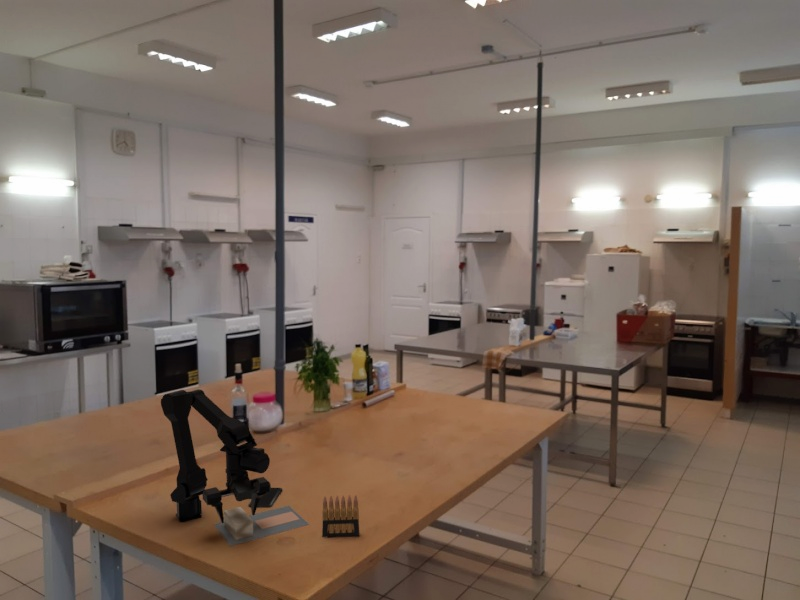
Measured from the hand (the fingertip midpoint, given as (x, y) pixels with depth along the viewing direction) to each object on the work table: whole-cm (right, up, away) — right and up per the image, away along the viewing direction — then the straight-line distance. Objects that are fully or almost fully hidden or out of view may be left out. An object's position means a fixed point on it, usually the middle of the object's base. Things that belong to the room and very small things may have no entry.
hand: (238, 518), depth 178 cm
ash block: (0, -4, 0) cm, 4 cm away
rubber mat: (+6, -3, +4) cm, 8 cm away
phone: (+3, -2, +24) cm, 24 cm away
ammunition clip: (+31, -4, -3) cm, 31 cm away
